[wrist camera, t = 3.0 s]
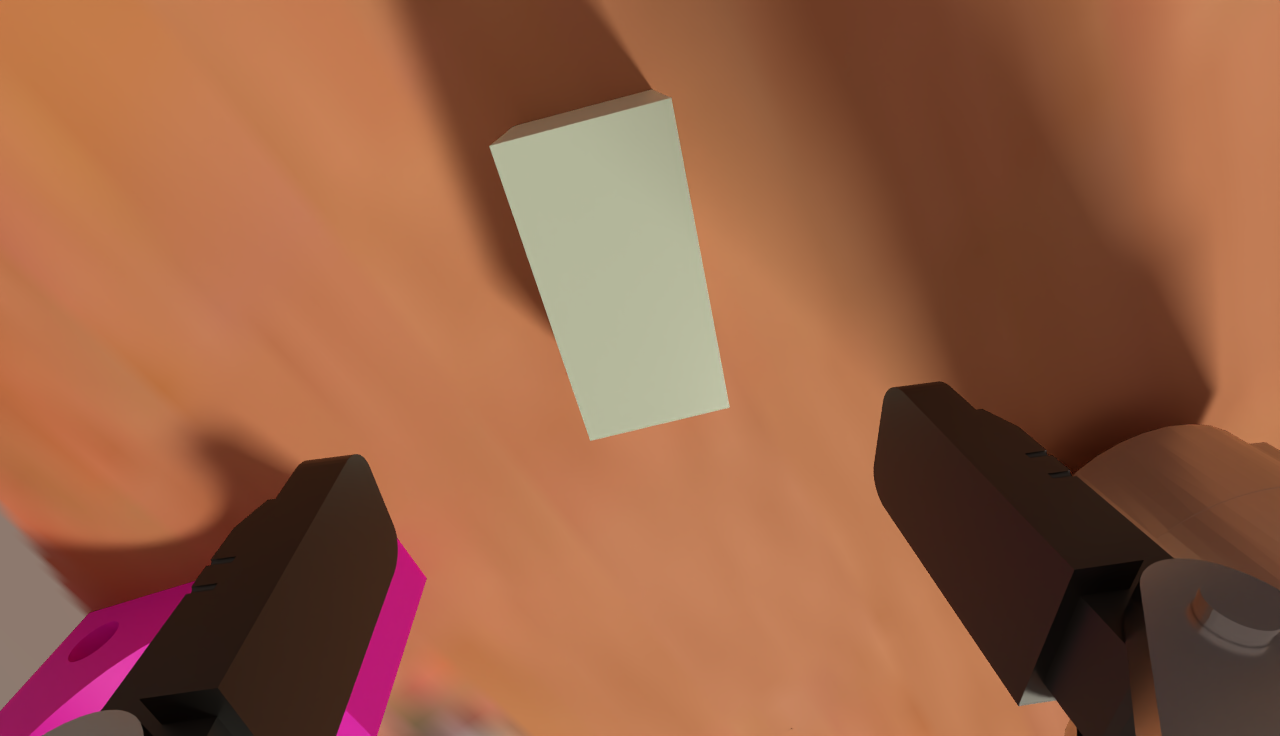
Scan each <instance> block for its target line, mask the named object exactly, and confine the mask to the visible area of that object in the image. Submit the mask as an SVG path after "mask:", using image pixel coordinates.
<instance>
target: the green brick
mask: <svg viewBox="0 0 1280 736" xmlns="http://www.w3.org/2000/svg"><path fill="white" fill-rule="evenodd" d="M489 147H490V150H491V153H492V155H493V158H494V161H495V164H496V167H497V170H498V173H499V176H500V179H501V182H502V185H503V188H504V190H505V193H506V196H507V199H508V202H509V205H510V208H511V211H512V214H513V217H514V220H515V222H516V225H517V228H518V231H519V234H520V237H521V240H522V243H523V246H524V249H525V252H526V255H527V257H528V260H529V263H530V266H531V269H532V272H533V275H534V278H535V281H536V284H537V287H538V290H539V292H540V295H541V298H542V301H543V304H544V307H545V310H546V313H547V316H548V319H549V322H550V324H551V327H552V330H553V333H554V336H555V339H556V342H557V345H558V348H559V351H560V354H561V357H562V359H563V362H564V365H565V368H566V371H567V374H568V377H569V380H570V383H571V386H572V389H573V392H574V394H575V397H576V400H577V403H578V406H579V409H580V412H581V415H582V418H583V421H584V424H585V426H586V429H587V432H588V435H589V438H590V441H592V440H596V439H600V438H604V437H608V436H613V435H617V434H621V433H625V432H629V431H634V430H638V429H642V428H646V427H650V426H654V425H659V424H663V423H667V422H671V421H675V420H680V419H684V418H688V417H692V416H696V415H700V414H705V413H709V412H713V411H717V410H721V409H726V408H730V407H729V402H728V396H727V391H726V386H725V380H724V375H723V370H722V364H721V359H720V354H719V348H718V343H717V338H716V333H715V327H714V322H713V317H712V311H711V306H710V301H709V295H708V290H707V285H706V280H705V274H704V269H703V264H702V258H701V253H700V248H699V242H698V237H697V232H696V226H695V221H694V216H693V211H692V205H691V200H690V195H689V189H688V184H687V179H686V173H685V168H684V163H683V157H682V152H681V147H680V142H679V136H678V131H677V126H676V120H675V115H674V110H673V104H672V99H671V97H668V96H666V95H664V94H662V93H659V92H657V91H655V90H653V89H651V90H647V91H644V92H640V93H636V94H632V95H629V96H625V97H621V98H617V99H614V100H610V101H606V102H602V103H599V104H595V105H591V106H587V107H584V108H580V109H576V110H572V111H569V112H565V113H561V114H557V115H554V116H550V117H546V118H542V119H538V120H535V121H531V122H527V123H523V124H520V125H516V126H513V127H512V128H511V129H509V130H508V131H507V132H506V133H505V134H503V135H502V136H501V137H500V138H498V139H497V140H496V141H495V142H494V143H492V144H491V145H490V146H489Z"/></svg>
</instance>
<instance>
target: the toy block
mask: <svg viewBox="0 0 1280 736" xmlns="http://www.w3.org/2000/svg"><path fill="white" fill-rule="evenodd" d="M397 543H398V558H397V564H396V569H395V572H394V575H393V578H392V581H391V583H390V586H389V589H388V592H387V595H386V598H385V600H384V603H383V606H382V609H381V612H380V614H379V617H378V620H377V623H376V626H375V628H374V631H373V634H372V637H371V640H370V643H369V645H368V648H367V651H366V654H365V657H364V659H363V662H362V665H361V668H360V671H359V673H358V676H357V679H356V682H355V685H354V687H353V690H352V693H351V696H350V699H349V702H348V704H347V707H346V710H345V713H344V716H343V718H342V721H341V724H340V727H339V730H338V732H337V735H336V736H377V734H378V731H379V727H380V724H381V721H382V718H383V715H384V712H385V709H386V705H387V702H388V699H389V696H390V693H391V690H392V686H393V683H394V680H395V677H396V674H397V671H398V667H399V664H400V661H401V658H402V655H403V652H404V648H405V645H406V642H407V639H408V636H409V633H410V630H411V626H412V623H413V620H414V617H415V614H416V611H417V607H418V604H419V601H420V598H421V595H422V592H423V588H424V585H425V582H426V579H427V578H426V577H425V575H424V574H423V573H422V571H421V570H420V569H419V567H418V566H417V564H416V563H415V562H414V560H413V559H412V558H411V556H410V555H409V554H408V552H407V551H406V549H405V548H404V547H403V545H402V544H401V543H400V541H399V540H398V539H397ZM194 582H195V581H193V582H190V583H187V584H183V585H180V586H177V587H173V588H170V589H167V590H163V591H160V592H157V593H154V594H150V595H147V596H144V597H140V598H137V599H134V600H130V601H127V602H124V603H121V604H117V605H114V606H111V607H107V608H104V609H101V610H97V611H94V612H91V613H89V614H88V615H87V616H86V617H85V618H84V619H83V620H82V621H81V623H80V624H79V625H78V626H77V627H76V628H75V629H74V630H73V632H72V633H71V634H70V635H69V636H68V637H67V638H66V639H65V640H64V641H63V642H62V644H61V645H60V646H59V647H58V648H57V649H56V650H55V651H54V652H53V654H52V655H51V656H50V657H49V658H48V659H47V660H46V661H45V662H44V663H43V664H42V666H41V667H40V668H39V669H38V670H37V671H36V672H35V673H34V674H33V675H32V677H31V678H30V679H29V680H28V681H27V682H26V683H25V684H24V685H23V686H22V688H21V689H20V690H19V691H18V692H17V693H16V694H15V695H14V696H13V698H12V699H11V700H10V701H9V702H8V703H7V704H6V705H5V707H3V709H2V710H1V711H0V736H42V735H44V734H45V733H47V732H49V731H50V730H52V729H54V728H56V727H58V726H60V725H62V724H64V723H66V722H69V721H71V720H73V719H76V718H78V717H81V716H84V715H87V714H91V713H94V712H99V711H101V709H102V708H103V707H104V706H105V704H106V703H107V702H108V700H109V699H110V697H111V696H112V695H113V693H114V692H115V691H116V689H117V688H118V687H119V685H120V684H121V682H122V681H123V680H124V678H125V677H126V676H127V674H128V673H129V671H130V670H131V669H132V667H133V666H134V665H135V663H136V662H137V660H138V659H139V658H140V656H141V655H142V654H143V652H144V651H145V649H146V648H147V647H148V645H149V644H150V643H151V641H152V640H153V638H154V637H155V636H156V634H157V633H158V632H159V630H160V629H161V627H162V626H163V625H164V623H165V622H166V621H167V619H168V618H169V616H170V615H171V614H172V612H173V611H174V610H175V608H176V607H177V606H178V604H179V603H180V601H181V600H182V599H183V597H184V596H185V595H186V594H189V593H191V591H192V587H191V586H192V585H193V584H194Z"/></svg>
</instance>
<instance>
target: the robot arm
mask: <svg viewBox="0 0 1280 736" xmlns="http://www.w3.org/2000/svg"><path fill="white" fill-rule="evenodd" d="M1046 451H1047V450H1045V449H1044V448H1043V447H1042V446H1041V445H1040V444H1038V443H1037V442H1036V441H1035V440H1034V439H1032V438H1031V437H1030V436H1029V435H1028V434H1027V433H1025V432H1024V431H1023V430H1022V429H1021V428H1019V427H1018V426H1016V425H1014V424H1012V423H1010V422H1008V421H1006V420H1004V419H1002V418H999V417H997V416H995V415H993V414H991V413H989V412H987V411H985V410H983V409H979V410H976V409H975V408H974V407H972V406H971V405H970V404H969V403H968V402H967V401H966V400H965V399H963V398H962V397H961V396H960V395H959V394H958V393H957V392H956V391H954V390H953V389H952V388H951V387H950V386H949V385H947V384H946V383H944V382H932V383H924V384H916V385H908V386H901V387H893V388H890V389H889V390H888V391H887V392H886V394H885V396H884V400H883V405H882V412H881V419H880V426H879V433H878V440H877V447H876V454H875V461H874V480H875V485H876V490H877V493H878V496H879V498H880V500H881V502H882V504H883V506H884V508H885V509H886V511H887V512H888V514H889V515H890V517H891V518H892V520H893V521H894V522H895V524H896V525H897V527H898V528H899V530H900V531H901V533H902V534H903V536H904V537H905V539H906V540H907V542H908V543H909V545H910V546H911V548H912V549H913V551H914V552H915V554H916V555H917V557H918V558H919V559H920V561H921V562H922V564H923V565H924V567H925V568H926V570H927V571H928V573H929V574H930V576H931V577H932V579H933V580H934V582H935V583H936V585H937V586H938V588H939V589H940V591H941V592H942V594H943V595H944V597H945V598H946V599H947V601H948V602H949V604H950V605H951V607H952V608H953V610H954V611H955V613H956V614H957V616H958V617H959V619H960V620H961V622H962V623H963V625H964V626H965V628H966V629H967V631H968V632H969V634H970V635H971V636H972V638H973V639H974V641H975V642H976V644H977V645H978V647H979V648H980V650H981V651H982V653H983V654H984V656H985V657H986V659H987V660H988V662H989V663H990V665H991V666H992V668H993V669H994V671H995V672H996V674H997V675H998V676H999V678H1000V679H1001V681H1002V682H1003V684H1004V685H1005V687H1006V688H1007V690H1008V691H1009V693H1010V694H1011V696H1012V697H1013V699H1014V700H1015V702H1016V703H1017V705H1018V706H1022V705H1029V704H1035V703H1042V702H1048V701H1055V700H1057V702H1058V703H1059V704H1060V706H1061V707H1062V709H1063V710H1064V711H1065V713H1066V714H1067V715H1068V717H1069V718H1070V720H1069V722H1068V724H1067V727H1066V729H1065V736H1280V450H1278V449H1276V448H1274V447H1273V446H1271V445H1269V444H1267V443H1264V442H1262V443H1254V444H1248V443H1246V442H1245V441H1243V440H1241V439H1239V438H1238V437H1236V436H1234V435H1233V434H1231V433H1229V432H1227V431H1225V430H1222V429H1219V428H1216V427H1213V426H1209V425H1196V424H1186V425H1177V426H1168V427H1164V428H1160V429H1156V430H1153V431H1149V432H1145V433H1142V434H1140V435H1138V436H1135V437H1133V438H1130V439H1128V440H1126V441H1123V442H1121V443H1119V444H1117V445H1115V446H1114V447H1112V448H1110V449H1108V450H1107V451H1105V452H1103V453H1102V454H1100V455H1098V456H1097V457H1095V458H1094V459H1093V460H1091V461H1090V462H1089V463H1087V464H1086V465H1085V466H1083V467H1082V468H1081V469H1080V470H1078V471H1077V472H1076V473H1075V474H1074V475H1073V476H1071V474H1070V470H1069V469H1068V468H1067V467H1066V466H1064V465H1063V464H1062V463H1061V462H1060V461H1058V460H1057V459H1056V458H1055V457H1054V456H1053V455H1050V456H1048V455H1047V453H1046ZM397 558H398V543H397V535H396V531H395V528H394V525H393V523H392V520H391V518H390V515H389V513H388V511H387V508H386V506H385V503H384V501H383V498H382V496H381V493H380V491H379V489H378V486H377V484H376V481H375V479H374V476H373V474H372V471H371V469H370V467H369V464H368V463H367V461H366V460H365V458H364V457H362V456H361V455H358V454H355V455H347V456H339V457H331V458H323V459H315V460H308V461H304V462H302V463H301V464H299V466H298V467H297V468H296V469H295V471H294V472H293V474H292V475H291V477H290V478H289V480H288V481H287V483H286V484H285V486H284V487H283V488H282V490H281V491H280V493H279V494H278V496H277V497H276V499H272V500H267V501H266V502H265V503H263V504H262V505H261V506H260V507H259V508H257V509H256V510H255V511H254V512H253V513H251V514H250V515H249V516H248V517H247V518H245V519H244V520H243V521H242V522H241V523H239V524H238V525H237V526H236V527H235V528H234V529H233V530H232V531H231V533H230V534H229V535H228V537H227V538H226V540H225V541H224V542H223V544H222V545H221V546H220V548H219V549H218V551H217V552H216V553H215V555H214V556H213V557H212V559H211V562H212V563H211V566H206V567H205V568H204V570H203V571H202V573H201V574H200V575H199V577H198V578H197V579H196V581H195V582H194V584H193V585H192V586H191V587H192V591H191V593H189V594H186V595H185V596H184V597H183V599H182V600H181V601H180V603H179V604H178V606H177V607H176V608H175V610H174V611H173V612H172V614H171V615H170V616H169V618H168V619H167V621H166V622H165V623H164V625H163V626H162V627H161V629H160V630H159V632H158V633H157V634H156V636H155V637H154V638H153V640H152V641H151V643H150V644H149V645H148V647H147V648H146V649H145V651H144V652H143V654H142V655H141V656H140V658H139V659H138V660H137V662H136V663H135V665H134V666H133V667H132V669H131V670H130V671H129V673H128V674H127V676H126V677H125V678H124V680H123V681H122V682H121V684H120V685H119V687H118V688H117V689H116V691H115V692H114V693H113V695H112V696H111V697H110V699H109V700H108V702H107V703H106V704H105V706H104V707H103V708H102V709H101V711H99V712H94V713H91V714H87V715H84V716H81V717H78V718H76V719H73V720H71V721H69V722H66V723H64V724H62V725H60V726H58V727H56V728H54V729H52V730H50V731H49V732H47V733H45V734H44V735H42V736H336V735H337V732H338V730H339V727H340V724H341V721H342V718H343V716H344V713H345V710H346V707H347V704H348V702H349V699H350V696H351V693H352V690H353V687H354V685H355V682H356V679H357V676H358V673H359V671H360V668H361V665H362V662H363V659H364V657H365V654H366V651H367V648H368V645H369V643H370V640H371V637H372V634H373V631H374V628H375V626H376V623H377V620H378V617H379V614H380V612H381V609H382V606H383V603H384V600H385V598H386V595H387V592H388V589H389V586H390V583H391V581H392V578H393V575H394V572H395V569H396V564H397Z"/></svg>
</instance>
